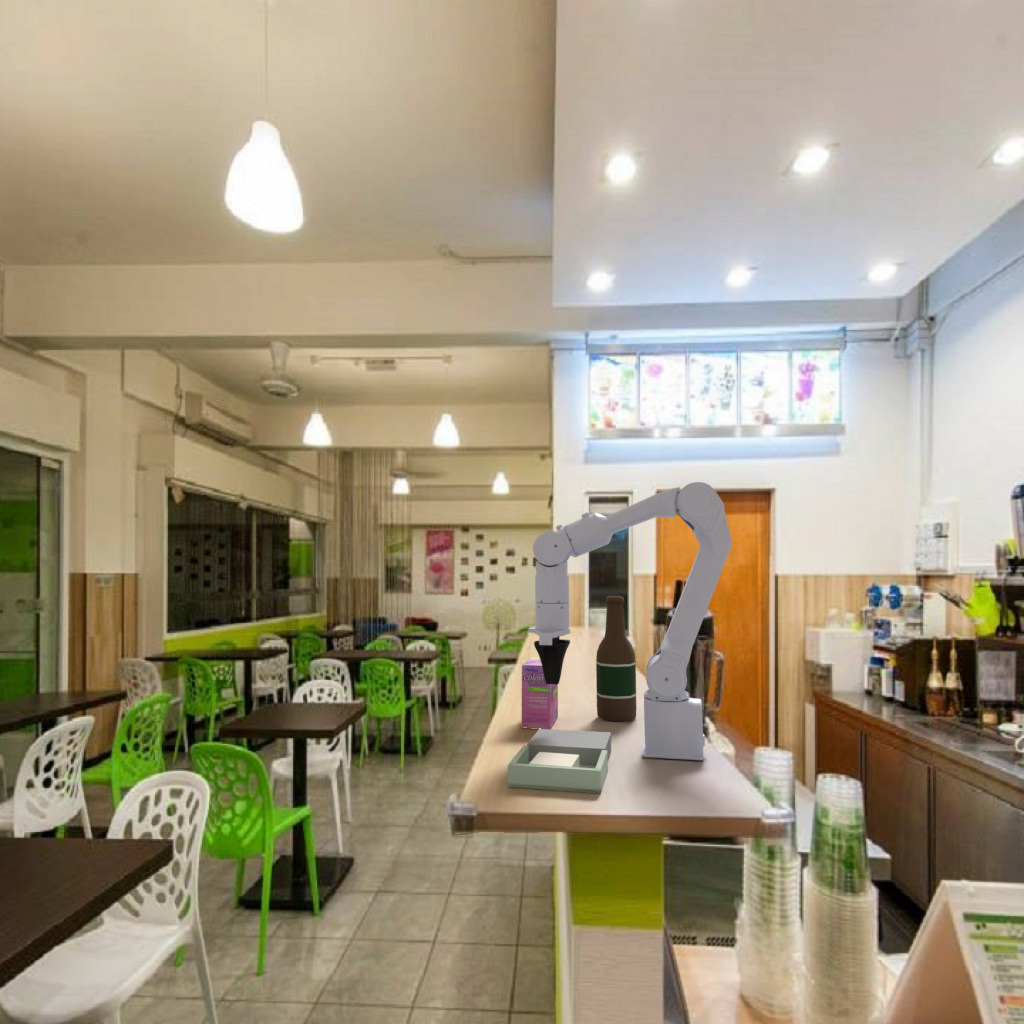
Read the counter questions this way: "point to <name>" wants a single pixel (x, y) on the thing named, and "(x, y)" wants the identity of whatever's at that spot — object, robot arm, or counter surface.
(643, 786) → the counter surface
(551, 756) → the tile
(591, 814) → the counter surface
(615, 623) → the beer bottle
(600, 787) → the bin
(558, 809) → the counter surface
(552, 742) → the bench plate
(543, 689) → the box
